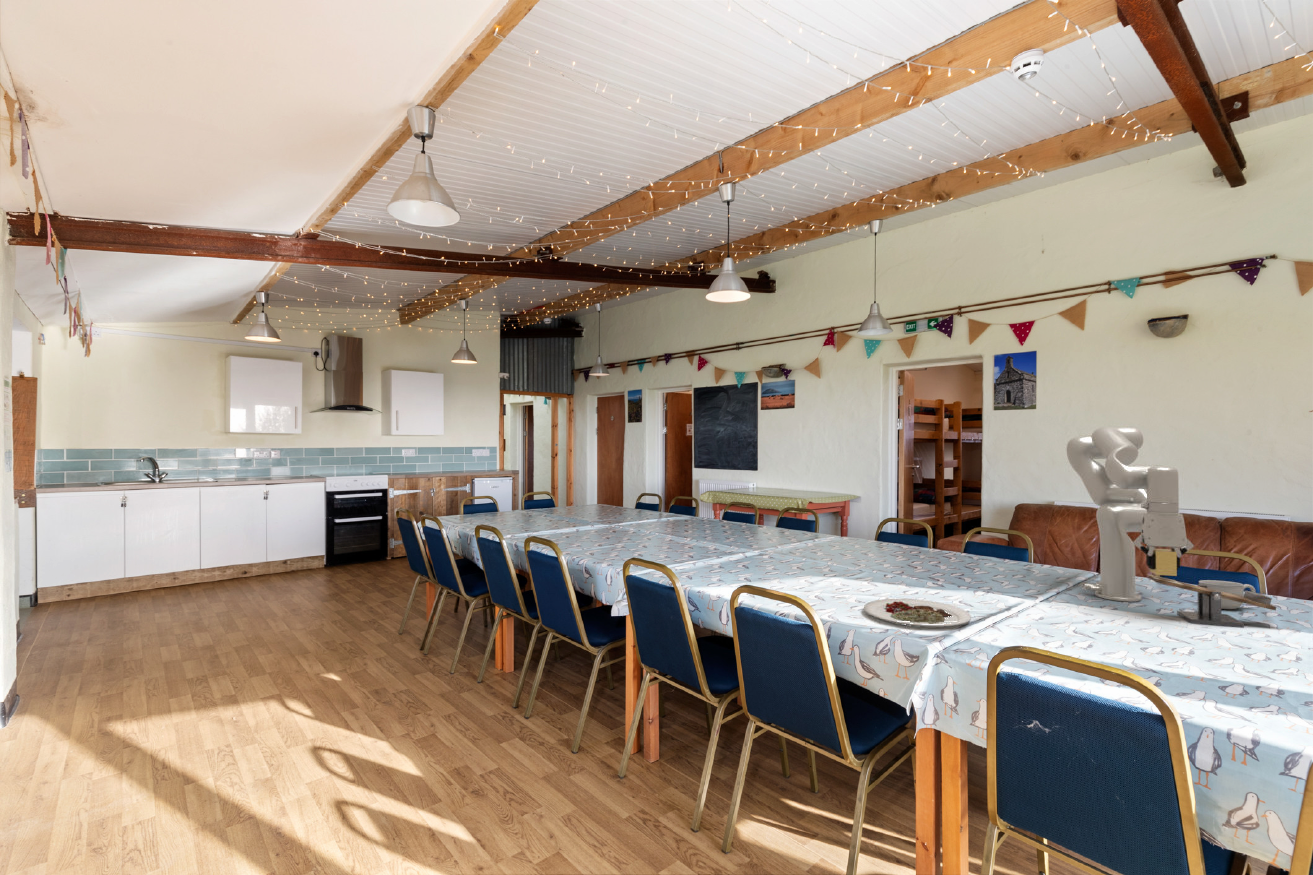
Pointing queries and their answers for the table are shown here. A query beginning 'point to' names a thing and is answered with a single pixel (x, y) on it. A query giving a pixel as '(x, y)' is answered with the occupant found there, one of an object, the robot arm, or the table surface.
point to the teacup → (1227, 591)
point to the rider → (1165, 562)
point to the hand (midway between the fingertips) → (1163, 568)
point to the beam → (1248, 597)
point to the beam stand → (1210, 611)
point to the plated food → (917, 612)
